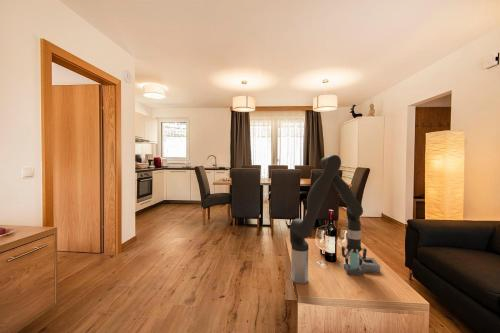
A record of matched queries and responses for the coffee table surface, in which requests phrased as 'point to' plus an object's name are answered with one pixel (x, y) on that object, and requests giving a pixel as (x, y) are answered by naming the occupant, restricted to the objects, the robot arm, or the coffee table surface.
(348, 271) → the dark grey shallow dish
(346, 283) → the coffee table surface
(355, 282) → the coffee table surface
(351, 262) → the plug
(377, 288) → the coffee table surface
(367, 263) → the port block
